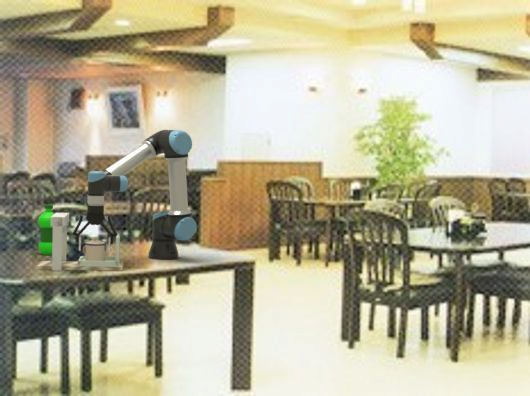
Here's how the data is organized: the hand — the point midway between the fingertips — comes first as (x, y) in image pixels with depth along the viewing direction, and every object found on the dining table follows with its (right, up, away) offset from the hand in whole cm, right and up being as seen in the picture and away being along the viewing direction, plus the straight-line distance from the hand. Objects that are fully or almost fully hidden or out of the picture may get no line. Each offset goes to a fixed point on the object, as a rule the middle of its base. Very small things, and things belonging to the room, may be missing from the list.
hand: (94, 250), depth 435 cm
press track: (-6, -8, 0) cm, 10 cm away
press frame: (-16, -7, -1) cm, 18 cm away
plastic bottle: (-31, -4, +41) cm, 52 cm away
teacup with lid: (-1, -5, 0) cm, 5 cm away
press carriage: (+2, -6, +1) cm, 6 cm away
